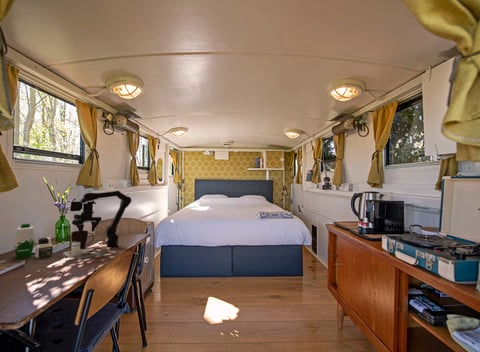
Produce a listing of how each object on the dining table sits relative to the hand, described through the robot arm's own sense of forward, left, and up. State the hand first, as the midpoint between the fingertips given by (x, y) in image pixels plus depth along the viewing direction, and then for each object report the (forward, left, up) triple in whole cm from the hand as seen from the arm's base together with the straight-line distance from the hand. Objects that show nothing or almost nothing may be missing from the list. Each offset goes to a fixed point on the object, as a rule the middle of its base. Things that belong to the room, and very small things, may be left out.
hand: (87, 232), depth 165 cm
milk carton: (+29, -18, -13) cm, 36 cm away
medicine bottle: (+22, -6, -13) cm, 26 cm away
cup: (-1, -9, -13) cm, 16 cm away
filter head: (+2, +17, -12) cm, 21 cm away
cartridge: (+9, +7, -12) cm, 16 cm away
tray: (+9, +7, -12) cm, 17 cm away
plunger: (-4, +17, -11) cm, 21 cm away
